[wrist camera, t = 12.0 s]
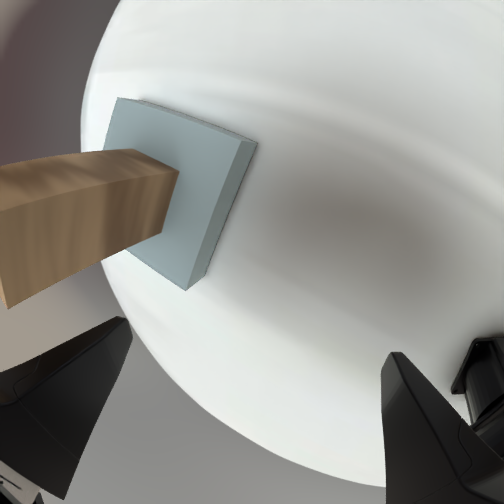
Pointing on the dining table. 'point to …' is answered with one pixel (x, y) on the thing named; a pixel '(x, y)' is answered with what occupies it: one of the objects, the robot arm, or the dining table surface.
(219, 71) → the dining table surface
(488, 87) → the dining table surface
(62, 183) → the walnut column
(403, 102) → the dining table surface
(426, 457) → the robot arm
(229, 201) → the slate base
